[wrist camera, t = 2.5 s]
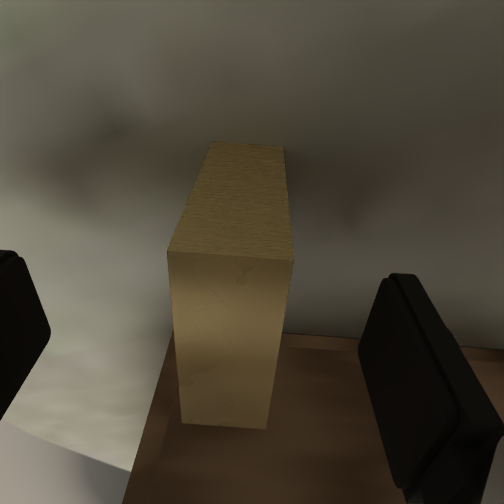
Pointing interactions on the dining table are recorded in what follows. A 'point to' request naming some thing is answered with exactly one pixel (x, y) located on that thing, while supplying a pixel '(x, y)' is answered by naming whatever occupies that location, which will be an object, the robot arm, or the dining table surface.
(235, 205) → the tan flat block
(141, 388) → the dining table surface
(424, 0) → the dining table surface
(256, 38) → the dining table surface
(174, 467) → the box with rectangular opening
